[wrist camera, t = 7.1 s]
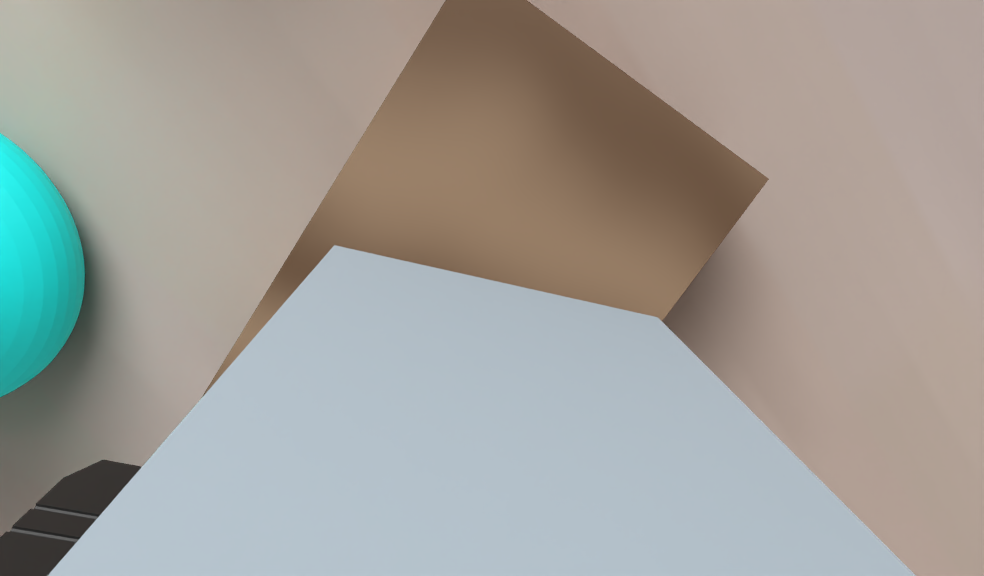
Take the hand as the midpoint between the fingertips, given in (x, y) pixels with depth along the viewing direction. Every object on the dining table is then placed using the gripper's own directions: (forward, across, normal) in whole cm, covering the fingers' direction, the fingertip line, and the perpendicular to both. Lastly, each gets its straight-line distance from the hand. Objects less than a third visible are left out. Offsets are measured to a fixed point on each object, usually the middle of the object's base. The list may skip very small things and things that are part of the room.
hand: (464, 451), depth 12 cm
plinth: (+13, 0, 0) cm, 13 cm away
